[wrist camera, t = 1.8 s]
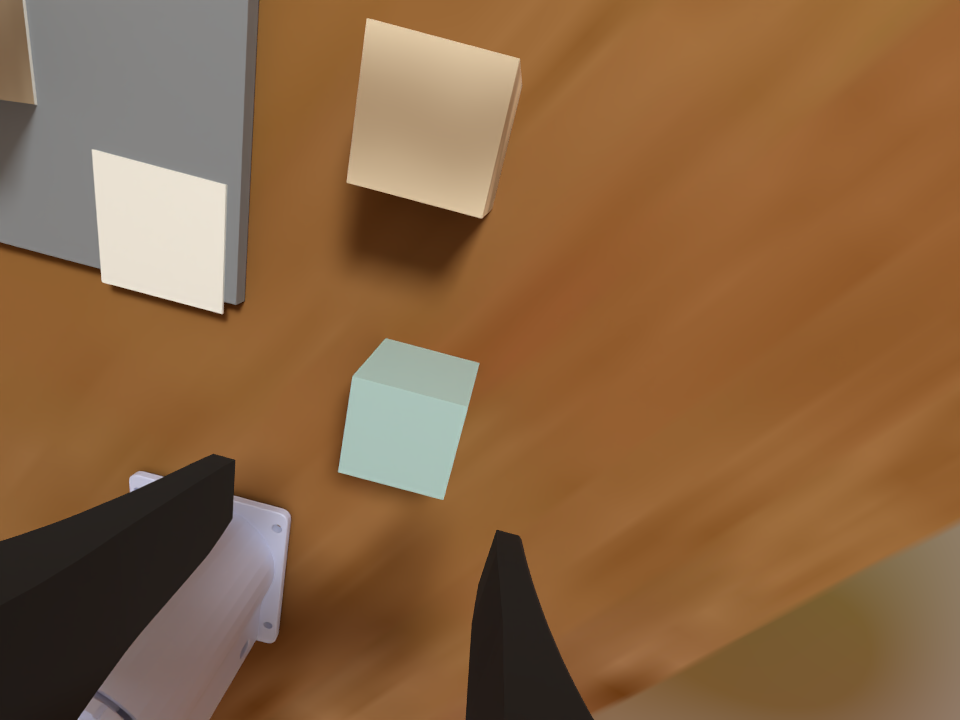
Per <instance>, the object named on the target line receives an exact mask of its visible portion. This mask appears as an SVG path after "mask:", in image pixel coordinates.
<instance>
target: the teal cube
mask: <svg viewBox="0 0 960 720" xmlns="http://www.w3.org/2000/svg"><path fill="white" fill-rule="evenodd" d="M478 367H479V363H477V362H473V361H469V360H466V359H462V358H458V357H454V356H451V355H447V354H443V353H439V352H436V351H432V350H428V349H424V348H420V347H417V346H413V345H409V344H405V343H402V342H398V341H394V340H390V339H387V338H386V339H385V340H384V341H383V342H382V343H381V344H380V345H379V347H378V348H377V349H376V350H375V351H374V352H373V353H372V355H371V356H370V357H369V358H368V359H367V360H366V361H365V363H364V364H363V365H362V366H361V367H360V368H359V369H358V371H357V372H356V373H355V374H354V375H353V377H352V383H351V390H350V396H349V403H348V409H347V416H346V423H345V429H344V436H343V442H342V449H341V456H340V462H339V469H338V472H339V473H343V474H347V475H351V476H354V477H358V478H362V479H366V480H369V481H373V482H377V483H381V484H385V485H388V486H392V487H396V488H400V489H403V490H407V491H411V492H415V493H419V494H422V495H426V496H430V497H434V498H437V499H441V500H443V499H444V496H445V492H446V488H447V484H448V481H449V477H450V473H451V469H452V466H453V462H454V458H455V454H456V450H457V447H458V443H459V439H460V435H461V432H462V428H463V424H464V420H465V417H466V413H467V409H468V405H469V402H470V398H471V394H472V390H473V386H474V382H475V378H476V375H477V371H478Z"/></svg>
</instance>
